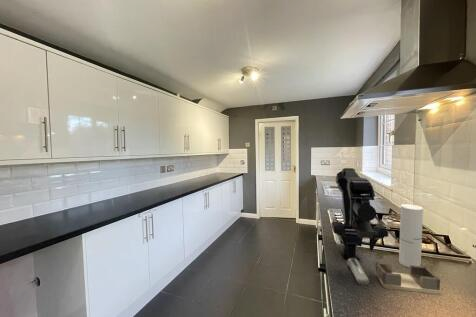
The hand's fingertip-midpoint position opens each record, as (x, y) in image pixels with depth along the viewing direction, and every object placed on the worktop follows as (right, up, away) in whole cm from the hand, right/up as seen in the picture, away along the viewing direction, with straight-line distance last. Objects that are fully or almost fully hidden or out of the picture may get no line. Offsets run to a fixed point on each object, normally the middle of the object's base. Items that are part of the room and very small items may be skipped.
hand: (357, 249), depth 81 cm
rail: (0, -9, +1) cm, 9 cm away
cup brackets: (+15, -9, -5) cm, 18 cm away
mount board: (+15, -11, -5) cm, 19 cm away
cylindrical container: (+26, -9, +7) cm, 29 cm away
